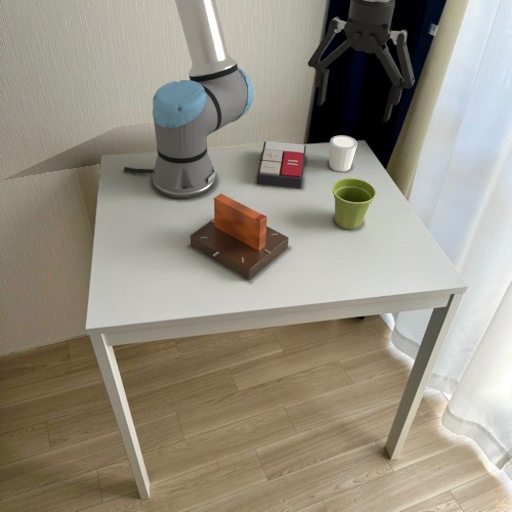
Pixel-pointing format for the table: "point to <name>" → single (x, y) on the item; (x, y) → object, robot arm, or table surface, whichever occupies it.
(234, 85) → the robot arm
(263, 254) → the dial panel
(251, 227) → the pointer
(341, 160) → the white fluted cup
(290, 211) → the table surface
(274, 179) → the calculator
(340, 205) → the plant pot
